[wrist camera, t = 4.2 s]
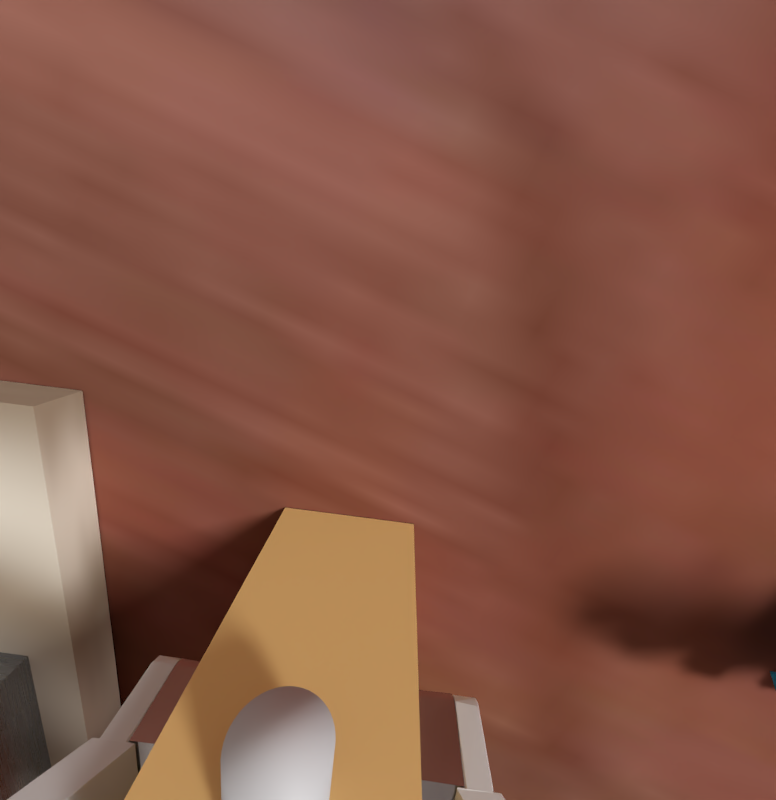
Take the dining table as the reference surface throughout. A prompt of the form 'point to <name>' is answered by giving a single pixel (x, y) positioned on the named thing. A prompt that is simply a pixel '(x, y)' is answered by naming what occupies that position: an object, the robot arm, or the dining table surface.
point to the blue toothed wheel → (773, 677)
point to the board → (54, 564)
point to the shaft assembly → (19, 727)
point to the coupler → (304, 676)
